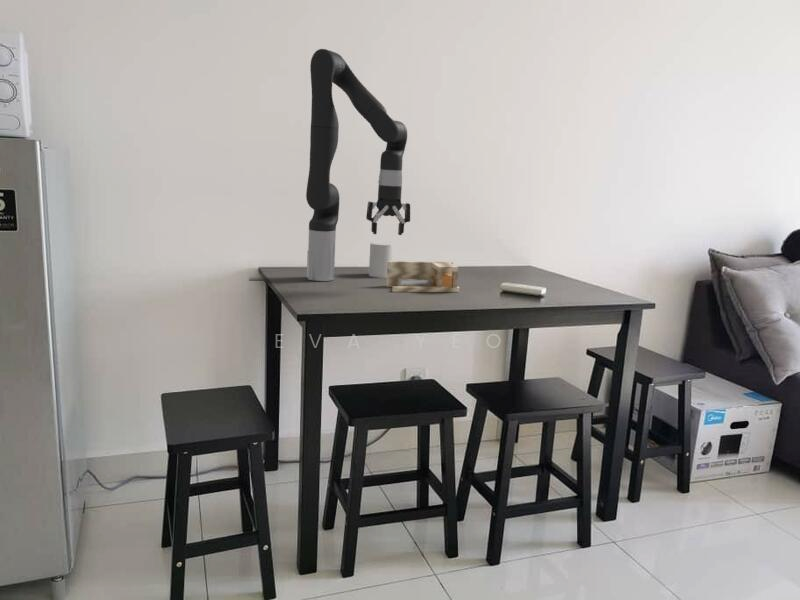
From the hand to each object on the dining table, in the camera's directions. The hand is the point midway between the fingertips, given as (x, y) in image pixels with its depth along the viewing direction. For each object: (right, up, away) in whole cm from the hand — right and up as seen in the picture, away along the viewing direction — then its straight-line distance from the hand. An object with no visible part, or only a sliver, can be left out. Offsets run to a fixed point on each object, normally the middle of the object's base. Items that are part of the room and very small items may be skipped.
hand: (387, 234), depth 206 cm
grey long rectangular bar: (+9, -18, +6) cm, 21 cm away
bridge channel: (+12, -18, +7) cm, 22 cm away
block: (+19, -18, +9) cm, 27 cm away
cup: (-3, -13, +27) cm, 30 cm away
